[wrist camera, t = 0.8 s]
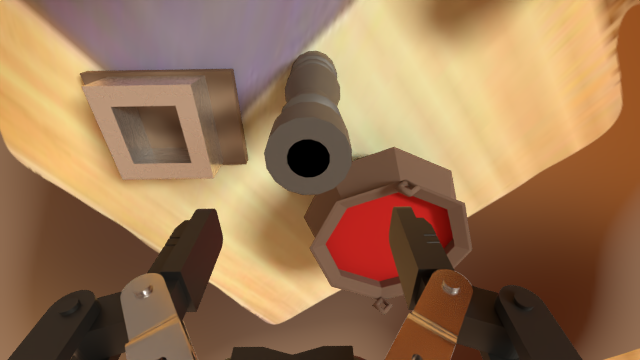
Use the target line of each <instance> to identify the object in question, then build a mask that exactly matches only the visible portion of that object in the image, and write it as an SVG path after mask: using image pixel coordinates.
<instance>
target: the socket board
mask: <svg viewBox="0 0 640 360" xmlns="http://www.w3.org/2000/svg"><path fill="white" fill-rule="evenodd" d="M80 75H81V78H82V80H83V82H84V85H86V84H89V83H92V82H95V81H98V80H100V79H103V78H106V77H137V76H198V75H205V79H206V83H207V88H208V93H209V97H210V102H211V106H212V111H213V116H214V120H215V125H216V129H217V134H218V139H219V143H220V148H221V153H222V157H223V163H222V164H246V163H247V161H248V155H247V149H246V143H245V137H244V131H243V125H242V119H241V113H240V107H239V101H238V95H237V89H236V83H235V77H234V71H233V69H189V70H128V71H86V72H83V73H80ZM137 108H138V111H139V114H140V117H141V120H142V122H143V125H144V128H145V131H146V134H147V137H148V139H149V142H150V145H151V148H187V145H186V141H185V138H184V134H183V131H182V127H181V124H180V120H179V116H178V113H177V109H176V106H137Z"/></svg>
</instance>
